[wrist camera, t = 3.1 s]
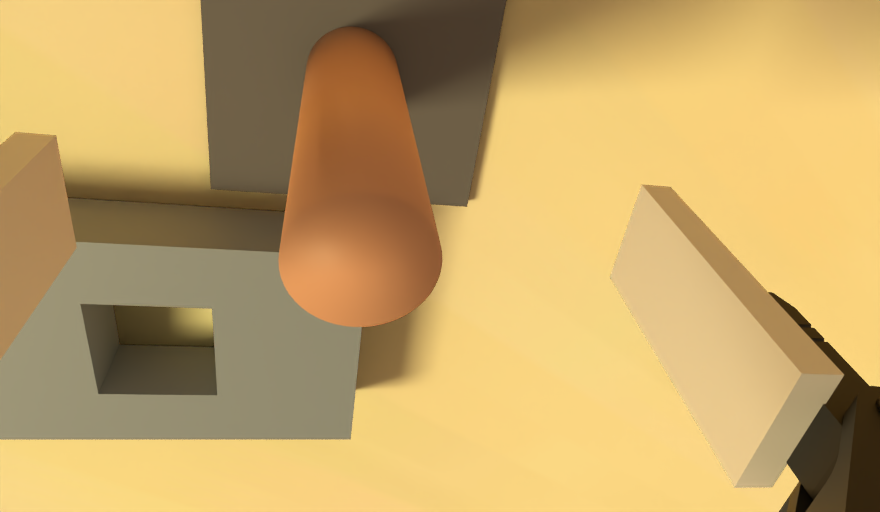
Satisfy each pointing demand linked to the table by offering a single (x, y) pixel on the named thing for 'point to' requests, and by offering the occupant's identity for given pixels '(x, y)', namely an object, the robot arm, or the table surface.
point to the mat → (283, 72)
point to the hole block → (177, 367)
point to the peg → (357, 190)
